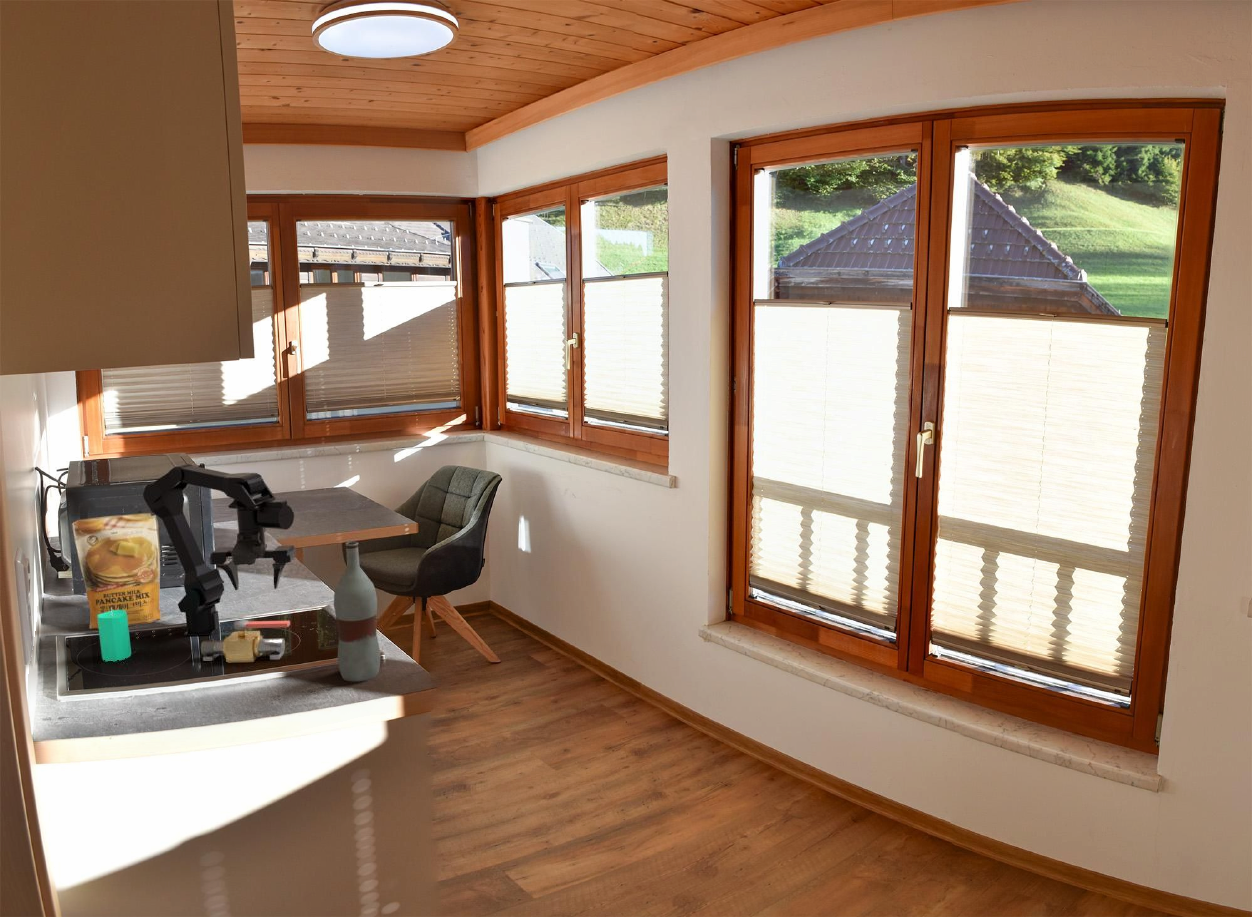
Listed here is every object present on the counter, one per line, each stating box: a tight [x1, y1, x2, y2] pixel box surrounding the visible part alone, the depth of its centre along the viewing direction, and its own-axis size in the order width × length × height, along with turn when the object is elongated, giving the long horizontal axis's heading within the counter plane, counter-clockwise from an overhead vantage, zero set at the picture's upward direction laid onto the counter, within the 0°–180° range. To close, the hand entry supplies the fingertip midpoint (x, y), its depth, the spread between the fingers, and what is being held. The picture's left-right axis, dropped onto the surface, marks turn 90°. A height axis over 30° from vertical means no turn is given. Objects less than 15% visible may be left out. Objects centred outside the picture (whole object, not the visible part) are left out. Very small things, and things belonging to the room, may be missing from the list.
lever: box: [233, 619, 291, 631], centre depth 218 cm, size 12×3×1 cm, turn 92°
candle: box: [97, 607, 132, 662], centre depth 220 cm, size 6×6×12 cm
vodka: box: [333, 541, 382, 683], centre depth 207 cm, size 9×9×30 cm
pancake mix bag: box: [70, 512, 163, 630], centre depth 240 cm, size 7×19×28 cm, turn 115°
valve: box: [200, 628, 286, 664], centre depth 219 cm, size 18×6×7 cm, turn 94°
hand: (256, 589), depth 229 cm, fingers open, 9 cm apart
